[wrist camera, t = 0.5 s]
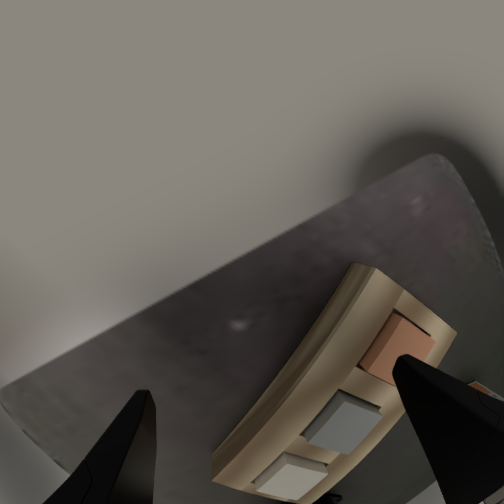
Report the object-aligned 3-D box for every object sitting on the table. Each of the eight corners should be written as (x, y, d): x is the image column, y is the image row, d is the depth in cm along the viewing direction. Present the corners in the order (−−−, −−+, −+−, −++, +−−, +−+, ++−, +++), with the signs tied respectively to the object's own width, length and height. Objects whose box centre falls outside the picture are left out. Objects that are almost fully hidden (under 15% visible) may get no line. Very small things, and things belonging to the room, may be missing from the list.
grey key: (372, 402, 20) (383, 416, 18) (340, 439, 20) (348, 454, 18) (334, 386, 19) (344, 401, 17) (301, 426, 19) (307, 443, 17)
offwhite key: (321, 458, 20) (328, 473, 18) (292, 484, 20) (296, 500, 18) (282, 446, 19) (286, 463, 17) (253, 474, 20) (255, 491, 17)
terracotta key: (420, 333, 20) (436, 341, 17) (391, 378, 20) (403, 390, 18) (387, 309, 19) (402, 317, 17) (355, 359, 19) (367, 371, 17)
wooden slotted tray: (431, 321, 23) (457, 332, 19) (301, 480, 23) (309, 505, 19) (352, 262, 22) (376, 268, 18) (212, 452, 22) (211, 480, 18)
